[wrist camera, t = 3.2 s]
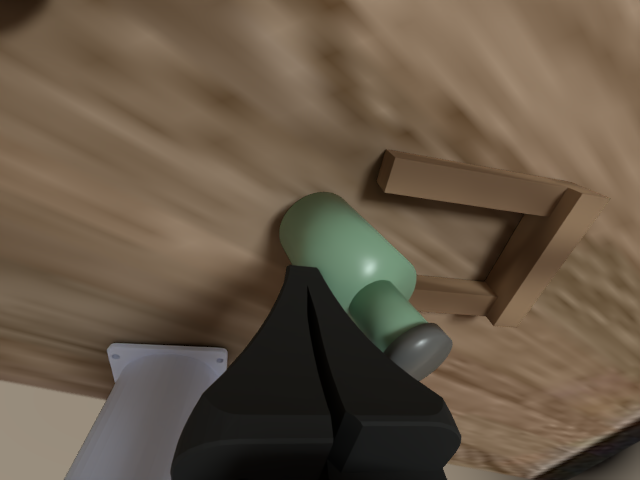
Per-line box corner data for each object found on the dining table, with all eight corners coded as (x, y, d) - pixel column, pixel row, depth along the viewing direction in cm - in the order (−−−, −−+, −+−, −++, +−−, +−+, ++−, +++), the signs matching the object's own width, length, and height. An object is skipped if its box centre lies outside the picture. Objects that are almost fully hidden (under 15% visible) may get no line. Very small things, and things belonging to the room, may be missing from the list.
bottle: (340, 256, 19) (440, 385, 12) (274, 261, 17) (348, 419, 10) (359, 193, 17) (494, 307, 10) (285, 190, 15) (390, 330, 8)
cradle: (494, 302, 22) (516, 327, 20) (344, 289, 20) (351, 316, 18) (571, 182, 18) (610, 198, 15) (385, 149, 15) (401, 162, 13)
